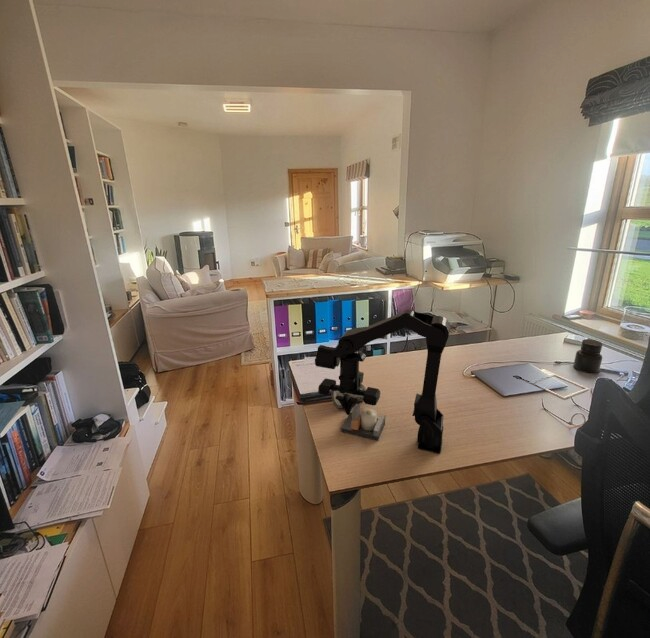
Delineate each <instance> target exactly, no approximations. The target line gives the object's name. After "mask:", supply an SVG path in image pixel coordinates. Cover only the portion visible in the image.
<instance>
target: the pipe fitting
mask: <svg viewBox="0 0 650 638" xmlns="http://www.w3.org/2000/svg"><path fill="white" fill-rule="evenodd" d="M358 388H361V389H362V390H363V391H366V389H367V388H366V386H365V385H364V384H363V382H362V383H361V386H360V387H358ZM336 394H337V393H336V391H333V390H331V401H332V403H333V405H334V406H335V408H337V409H342V408H343V406H342V405H341V403H340V402H339V401H338V400H337V399H336V398H335V397H336ZM349 398H350V395H349ZM361 401H362V402H363V397H361V398H360V399H359V401H358V402H361ZM343 409H344V408H343Z"/></svg>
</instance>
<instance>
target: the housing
mask: <svg viewBox="0 0 650 638" xmlns="http://www.w3.org/2000/svg"><path fill="white" fill-rule="evenodd" d="M377 419H378V413H377V411H376V410H374V409H372V408H365V409H364V410H362V411H361V427H362V428H363V429H365V430H373V429H374V428H375V426H376V424H377Z"/></svg>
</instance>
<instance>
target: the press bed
mask: <svg viewBox="0 0 650 638" xmlns="http://www.w3.org/2000/svg"><path fill="white" fill-rule="evenodd" d="M351 421H352V412H350V414H349V415H347V417H346V418H345V420H344V422H343V424H342V425H341V428H340V432H341V433H343V434H348V435H352V436H357V437H360V438H363V439H369V440H372V441H377V442H379V439H380V437H381V434H382V432H383V430H384V427H385V425H386V414H383V413H382V414H379V417H378V418H377V424H376V426H375V428H374V429H373V430H365V429H363V428H362V427H361V424H360V426H359V428H358V430H354V429H351Z"/></svg>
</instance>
